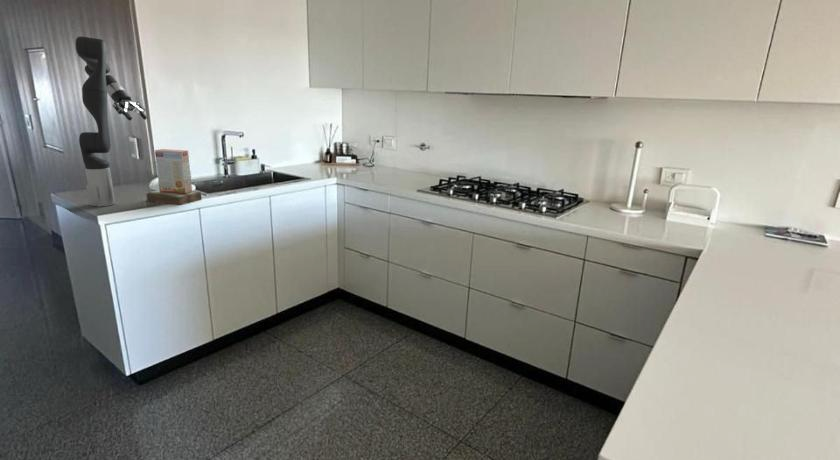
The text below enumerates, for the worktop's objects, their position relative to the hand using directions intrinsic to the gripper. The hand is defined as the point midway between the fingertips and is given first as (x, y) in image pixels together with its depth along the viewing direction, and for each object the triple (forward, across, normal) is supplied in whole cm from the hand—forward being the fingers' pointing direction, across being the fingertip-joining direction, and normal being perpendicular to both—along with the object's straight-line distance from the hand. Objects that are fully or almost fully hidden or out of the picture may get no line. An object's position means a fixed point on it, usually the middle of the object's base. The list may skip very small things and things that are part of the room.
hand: (138, 118), depth 231 cm
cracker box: (+43, -7, +5) cm, 44 cm away
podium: (+45, -8, +8) cm, 46 cm away
